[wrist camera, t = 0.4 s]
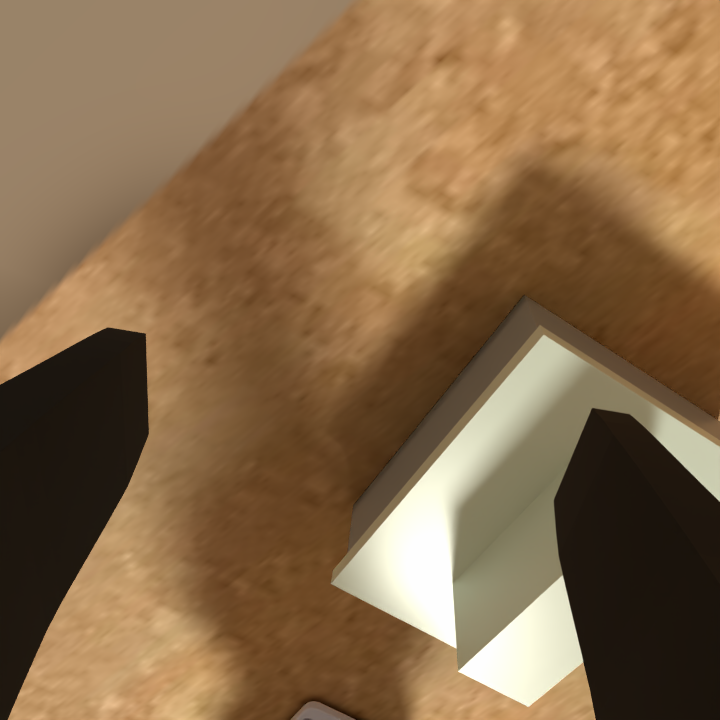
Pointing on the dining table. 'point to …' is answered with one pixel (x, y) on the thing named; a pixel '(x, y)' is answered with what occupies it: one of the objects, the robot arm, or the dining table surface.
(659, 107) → the dining table surface
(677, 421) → the lid
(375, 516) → the box
